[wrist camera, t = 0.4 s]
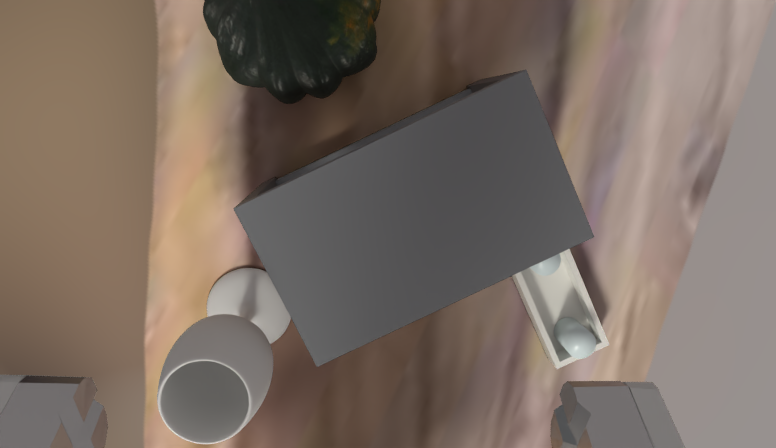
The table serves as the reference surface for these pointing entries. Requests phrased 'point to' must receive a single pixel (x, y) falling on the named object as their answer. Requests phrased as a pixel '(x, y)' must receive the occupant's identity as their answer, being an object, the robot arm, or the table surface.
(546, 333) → the tray
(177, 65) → the table surface
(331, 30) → the squash
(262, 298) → the wineglass
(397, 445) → the table surface
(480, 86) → the side table
